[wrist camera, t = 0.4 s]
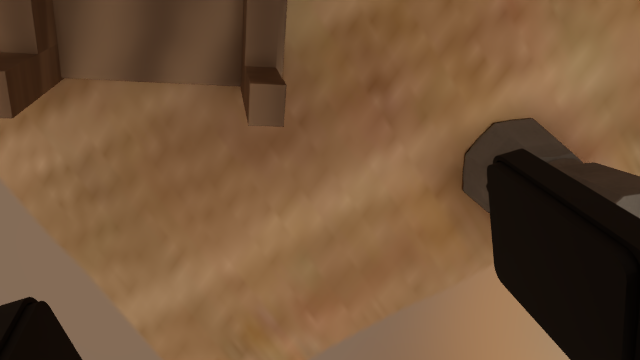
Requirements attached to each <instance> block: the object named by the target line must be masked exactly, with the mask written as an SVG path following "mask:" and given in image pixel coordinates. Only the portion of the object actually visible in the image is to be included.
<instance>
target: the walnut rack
mask: <svg viewBox="0 0 640 360" xmlns="http://www.w3.org/2000/svg"><path fill="white" fill-rule="evenodd" d="M286 12H287V0H0V118H14V117H15V116H16V115H17V114H19V113H20V112H21V111H23V110H24V109H25V108H26V107H28V106H29V105H30V104H32V103H33V102H34V101H36V100H37V99H38V98H39V97H41V96H42V95H43V94H45V93H46V92H47V91H48V90H50V89H51V88H52V87H54V86H55V85H56V84H57V83H59V82H60V81H61V80H63V79H64V78H74V79H95V80H116V81H137V82H157V83H178V84H199V85H220V86H240V87H241V92H242V97H243V102H244V106H245V111H246V116H247V121H248V126H275V127H284V113H285V98H286V84H285V82H284V80H283V79H282V75H283V59H284V44H285V28H286Z"/></svg>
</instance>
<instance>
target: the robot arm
mask: <svg viewBox="0 0 640 360" xmlns="http://www.w3.org/2000/svg"><path fill="white" fill-rule="evenodd" d="M487 183H488V195H489V207H490V219H491V231H492V243H493V256H494V266H495V271H496V273H497V276H498V278H499V280H500V281H501V283H503V285H504V286H505V287H506V288H507V289H508V291H509V292H510V293H511V294H512V295H513V296H514V297H515V298H516V299H517V301H518V302H519V303H520V304H521V305H522V306H523V307H524V308H525V309H526V311H527V312H528V313H529V314H530V315H531V316H532V317H533V318H534V319H535V321H536V322H537V323H538V324H539V325H540V326H541V327H542V328H543V329H544V330H545V332H546V333H547V334H548V335H549V336H550V337H551V338H552V340H554V342H555V343H556V344H557V345H558V346H559V347H560V348H561V350H562V351H563V352H564V353H565V354H566V355H567V356H568V357H569V359H570V360H640V218H638V217H637V216H635V215H633V214H632V213H630V212H628V211H627V210H625V209H623V208H622V207H620V206H618V205H617V204H615V203H613V202H612V201H610V200H608V199H607V198H605V197H603V196H602V195H600V194H598V193H597V192H595V191H593V190H592V189H590V188H588V187H587V186H585V185H583V184H582V183H580V182H578V181H577V180H575V179H573V178H572V177H570V176H568V175H567V174H565V173H563V172H562V171H560V170H558V169H557V168H555V167H553V166H552V165H550V164H548V163H547V162H545V161H544V160H542V159H540V158H539V157H537V156H535V155H534V154H532V153H530V152H529V151H527V150H525V149H522V148H521V149H517V150H514V151H511V152H507V153H504V154H501V155H497V156H495V157H494V159H493V164H491V165H489V166H488V167H487ZM0 360H82V359H81V357H80V355H79V354H78V352H77V351H76V349H75V347H74V346H73V344H72V343H71V341H70V339H69V338H68V336H67V334H66V333H65V331H64V329H63V328H62V326H61V325H60V323H59V321H58V320H57V318H56V316H55V315H54V313H53V312H52V310H51V308H50V307H49V305H48V304H47V303H46V302H44V301H40V302H38V301H37V300H36V299H34V298H32V297H28V298H24V299H21V300H18V301H15V302H11V303H8V304H5V305H1V306H0Z"/></svg>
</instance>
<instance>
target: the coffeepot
mask: <svg viewBox="0 0 640 360" xmlns="http://www.w3.org/2000/svg"><path fill="white" fill-rule="evenodd" d="M521 148H522V149H525V150H527V151H529V152H530V153H532V154H534V155H535V156H537V157H539V158H540V159H542V160H544V161H545V162H547V163H548V164H550V165H552V166H553V167H555V168H557V169H558V170H560V171H562V172H563V173H565V174H567V175H568V176H570V177H572V178H573V179H575V180H577V181H578V182H580V183H582V184H583V185H585V186H587V187H588V188H590V189H592V190H593V191H595V192H597V193H598V194H600V195H602V196H603V197H605V198H607V199H608V200H610V201H612V202H613V203H615V204H617V205H618V206H620V207H622V208H623V209H625V210H627V211H628V212H630V213H632V214H633V215H635V216H637V217H638V218H640V176H636V175H633V174H630V173H627V172H623V171H620V170H617V169H614V168H610V167H607V166H604V165H601V164H598V163H583V162H582V161H581V160H580V159H579V158H578V157H576V156H575V155H574V154H573V153H572V152H571V151H570V150H569V149H567V148H566V147H565V146H564V145H563V144H562V143H561V142H559V141H558V140H557V139H556V138H555V137H554V136H553V135H551V134H550V133H549V132H548V131H547V130H546V129H544V128H543V127H542V126H541V125H540V124H539V123H538V122H536V121H535V120H534V119H533V118H531V119H521V120H509V121H505V122H501V123H495V124H493V125H492V126H491V127H490V128H489V129H488V130H486V131H485V132H484V133H483V134H482V135H481V136H480V137H479V138H478V139H477V140H476V141H475V143H474V144H473V145H472V147H471V148H470V150H469V151H468V152H467V153H466V155H465V161H464V167H463V181H464V185H463V191H464V192H465V193H466V194H467V195H468V196H470V197H471V198H472V199H473V200H474V201H475V202H477V203H478V204H479V205H480V206H481V207H482V208H483V209H485V210H486V211H487V212H489V213H490V207H489V195H488V183H487V167H488V166H489V165H491V164H493V159H494V157H495V156H497V155H501V154H504V153H507V152H511V151H514V150H517V149H521Z"/></svg>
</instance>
